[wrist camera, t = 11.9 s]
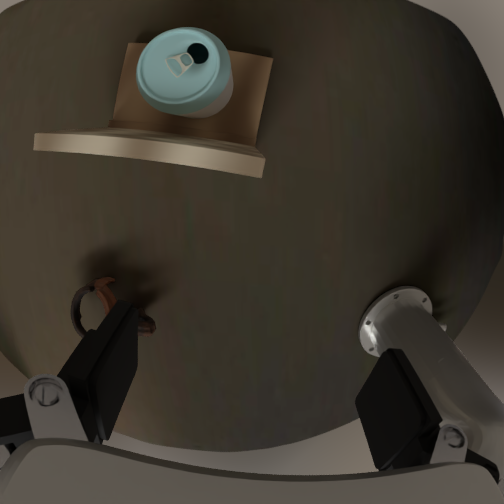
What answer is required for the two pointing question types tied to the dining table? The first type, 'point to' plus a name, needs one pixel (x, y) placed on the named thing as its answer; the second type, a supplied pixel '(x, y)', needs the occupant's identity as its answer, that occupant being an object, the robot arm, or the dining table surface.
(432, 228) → the dining table surface
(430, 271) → the dining table surface
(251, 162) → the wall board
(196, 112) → the can
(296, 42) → the dining table surface
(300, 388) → the dining table surface
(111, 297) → the vr controller
